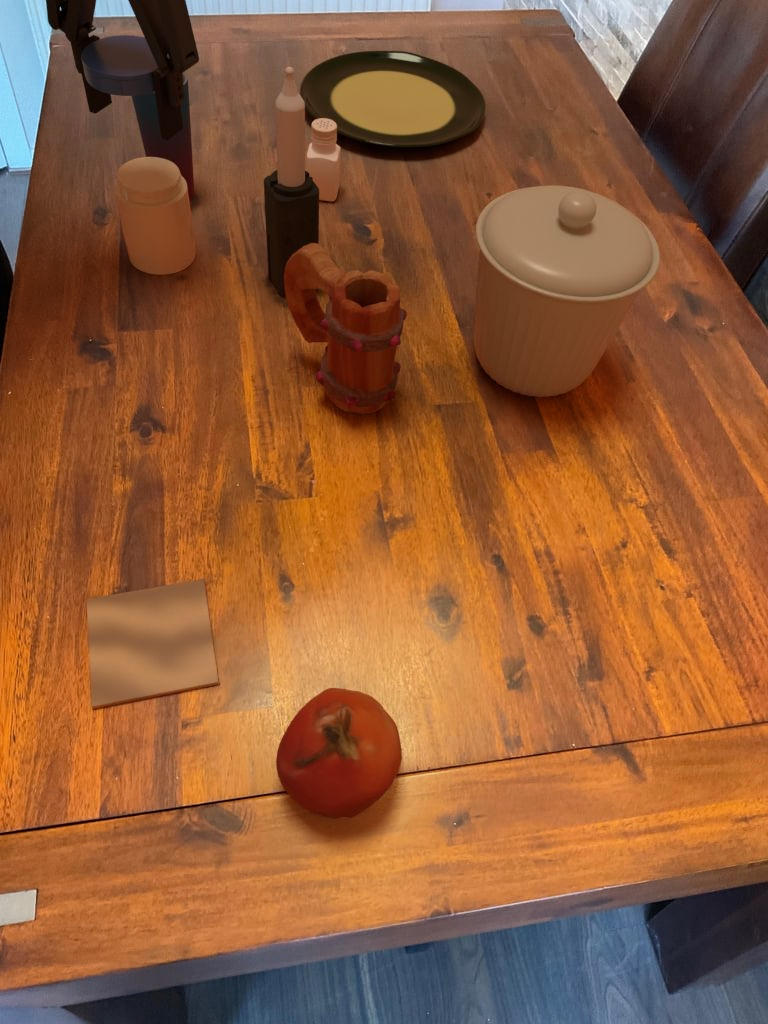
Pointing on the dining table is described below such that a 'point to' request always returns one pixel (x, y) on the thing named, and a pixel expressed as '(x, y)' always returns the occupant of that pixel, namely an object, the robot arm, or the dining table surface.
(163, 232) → the jar
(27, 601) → the dining table surface
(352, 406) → the mug
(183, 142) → the cup
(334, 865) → the dining table surface
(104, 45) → the lid
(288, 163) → the candle
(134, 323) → the dining table surface
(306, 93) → the plate
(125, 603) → the coaster
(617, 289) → the canister
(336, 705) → the tomato
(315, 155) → the salt shaker
